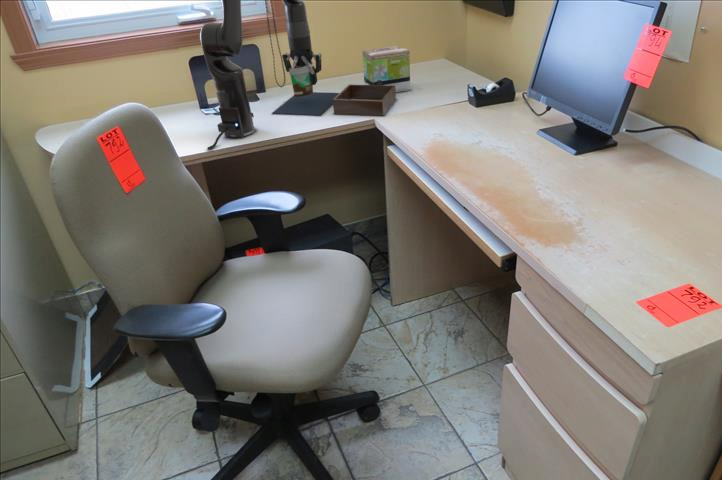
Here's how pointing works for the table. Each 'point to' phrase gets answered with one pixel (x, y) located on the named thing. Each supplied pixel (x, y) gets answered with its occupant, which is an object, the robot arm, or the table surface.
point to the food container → (301, 80)
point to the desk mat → (307, 104)
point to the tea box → (387, 67)
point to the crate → (364, 107)
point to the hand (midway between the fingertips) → (305, 84)
